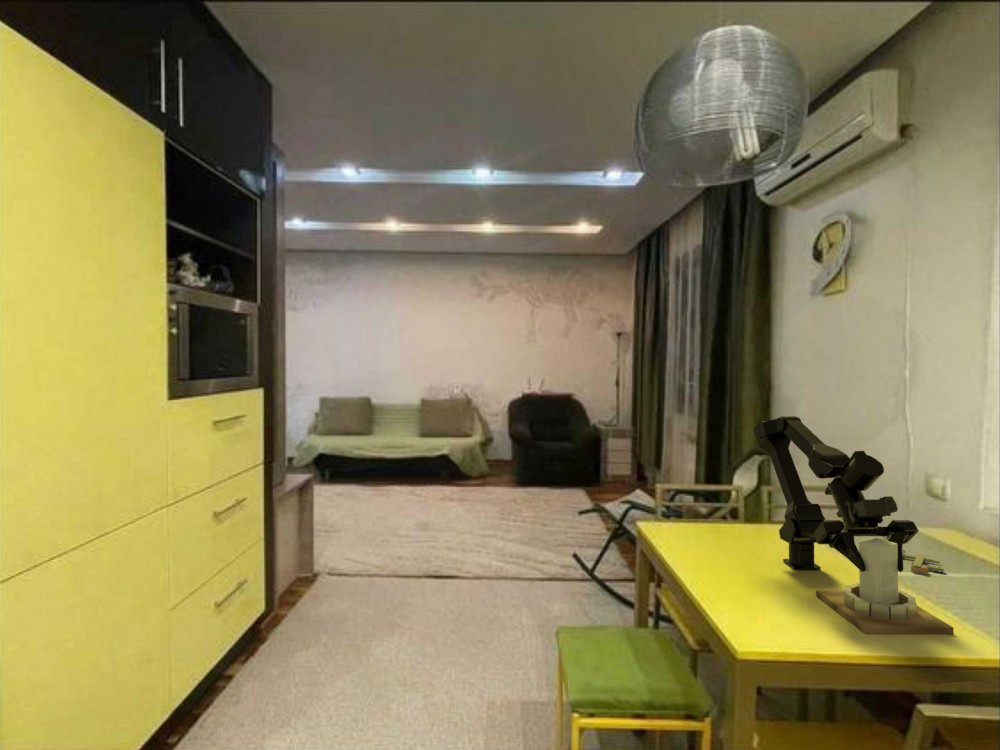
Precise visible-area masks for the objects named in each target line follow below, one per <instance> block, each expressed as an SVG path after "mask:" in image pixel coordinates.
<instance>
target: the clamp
mask: <svg viewBox="0 0 1000 750" xmlns="http://www.w3.org/2000/svg"><path fill="white" fill-rule="evenodd" d="M905 553H906V550H905V549H902V556H903V560H904V559H909V560H914V561H913V562H911V565H910V572H911V573H913V572H916V573H915V574H918V573H922V574H921V575H923V574H929V571H932V570H934V571H941V572H943V571H944V572H945V567H941V566H936V565H933V566H931V565H926V564H924V563H925V562H927V563H931V562H932V564H934V563H935V564H941V561H940V560H935V559H933V558H926V555H925V554H921V553H920V554H919V553H917V554H916V556H913V555H910V554H909V555H908V554H905ZM923 562H924V563H923ZM934 571H933V572H934Z"/></svg>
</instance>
